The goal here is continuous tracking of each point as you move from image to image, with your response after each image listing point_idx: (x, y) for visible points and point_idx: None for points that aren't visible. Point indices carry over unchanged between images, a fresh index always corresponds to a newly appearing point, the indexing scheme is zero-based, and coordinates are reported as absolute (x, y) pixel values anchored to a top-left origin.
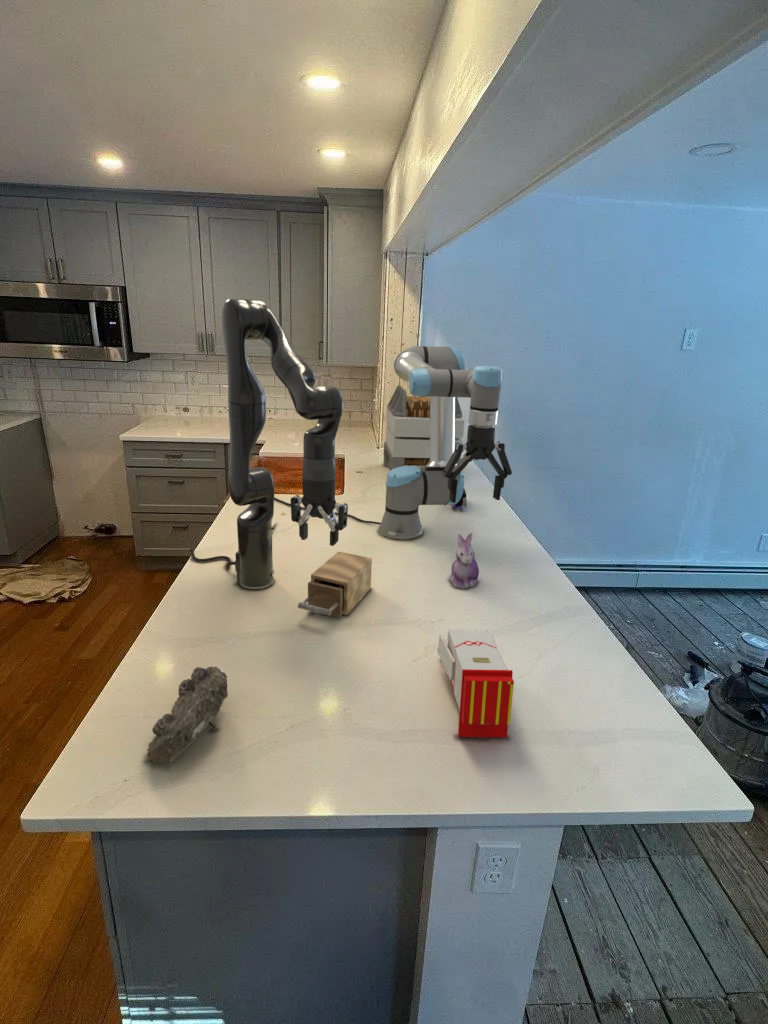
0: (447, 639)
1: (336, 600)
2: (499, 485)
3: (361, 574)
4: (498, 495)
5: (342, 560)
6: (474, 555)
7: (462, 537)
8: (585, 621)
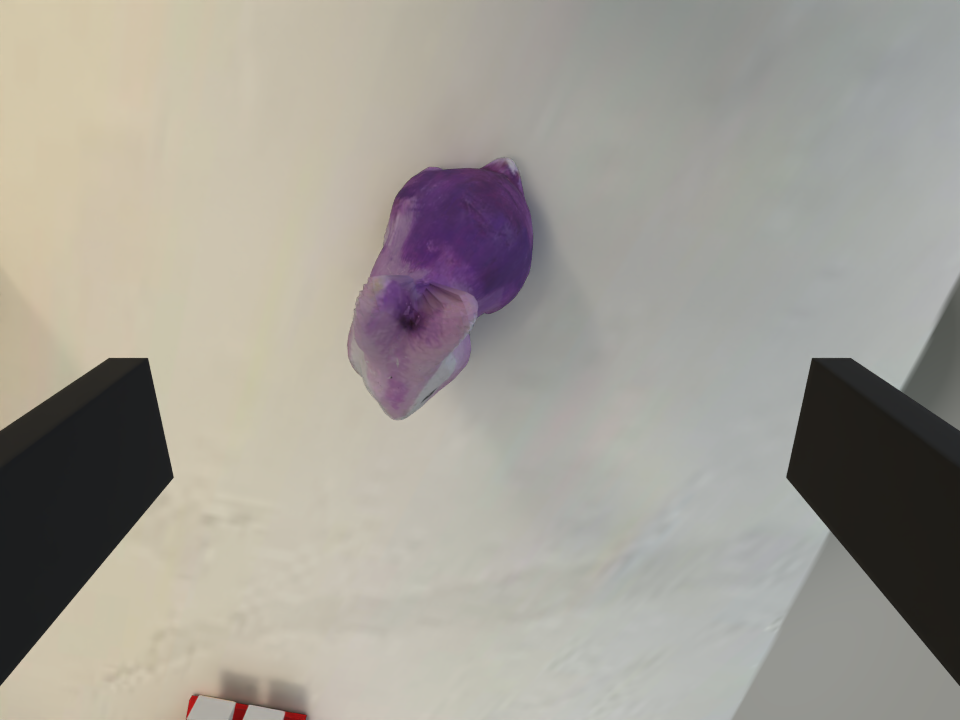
0: (197, 698)
1: None
2: (934, 642)
3: None
4: (830, 519)
5: None
6: (459, 372)
7: (391, 320)
8: (755, 615)
